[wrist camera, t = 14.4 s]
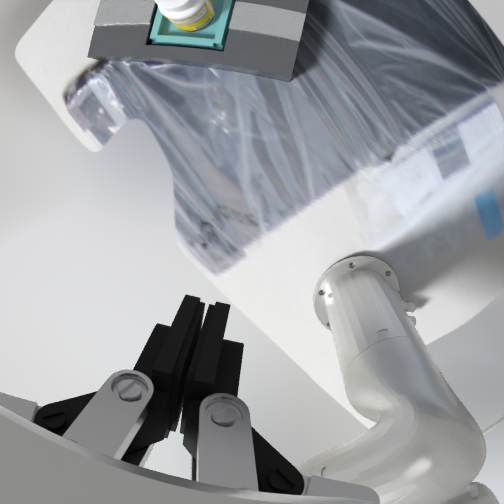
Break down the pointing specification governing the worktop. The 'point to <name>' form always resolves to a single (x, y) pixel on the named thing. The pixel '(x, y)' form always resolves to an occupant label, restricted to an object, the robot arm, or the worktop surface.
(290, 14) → the block
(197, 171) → the worktop surface
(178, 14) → the supplement bottle
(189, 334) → the robot arm
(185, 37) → the tray
